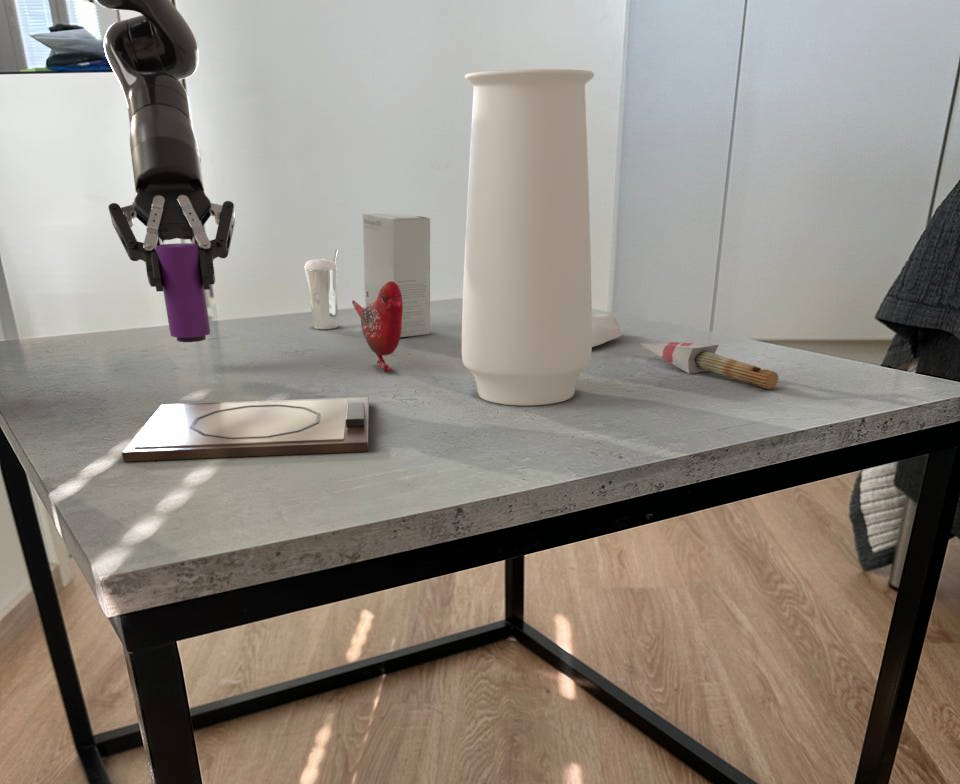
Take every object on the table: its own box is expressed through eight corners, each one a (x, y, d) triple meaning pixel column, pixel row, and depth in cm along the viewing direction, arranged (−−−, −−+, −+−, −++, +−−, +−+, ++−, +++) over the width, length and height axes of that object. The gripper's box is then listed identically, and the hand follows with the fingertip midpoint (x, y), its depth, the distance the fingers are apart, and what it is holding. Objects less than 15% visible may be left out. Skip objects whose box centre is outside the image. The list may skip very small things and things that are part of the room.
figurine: (530, 314, 132) (526, 188, 123) (645, 327, 122) (650, 192, 113) (445, 352, 119) (434, 214, 110) (567, 370, 109) (566, 222, 100)
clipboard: (123, 462, 76) (119, 443, 75) (162, 412, 90) (160, 397, 89) (368, 451, 77) (366, 434, 77) (369, 404, 91) (368, 389, 91)
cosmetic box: (365, 330, 128) (357, 213, 121) (401, 325, 131) (396, 211, 124) (397, 339, 122) (391, 216, 115) (435, 333, 125) (431, 213, 118)
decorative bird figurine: (391, 383, 100) (385, 284, 95) (345, 354, 114) (338, 267, 109) (416, 380, 100) (412, 283, 96) (367, 352, 115) (361, 266, 110)
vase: (523, 374, 102) (525, 80, 89) (615, 392, 94) (633, 72, 81) (436, 395, 94) (425, 75, 81) (529, 417, 86) (533, 66, 73)
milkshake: (353, 326, 131) (347, 250, 127) (323, 331, 128) (316, 254, 123) (333, 322, 134) (326, 248, 130) (303, 327, 131) (295, 251, 126)
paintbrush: (662, 327, 109) (787, 365, 94) (659, 351, 111) (782, 392, 96) (636, 330, 108) (759, 369, 93) (634, 354, 109) (755, 396, 94)
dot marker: (168, 343, 103) (152, 247, 99) (175, 336, 107) (160, 243, 103) (208, 342, 104) (194, 246, 99) (213, 335, 108) (200, 242, 103)
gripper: (93, 134, 100) (107, 264, 96) (227, 133, 104) (247, 259, 99) (106, 187, 107) (120, 311, 103) (232, 184, 111) (250, 304, 106)
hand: (182, 285), depth 101 cm, fingers closed on dot marker, 4 cm apart
